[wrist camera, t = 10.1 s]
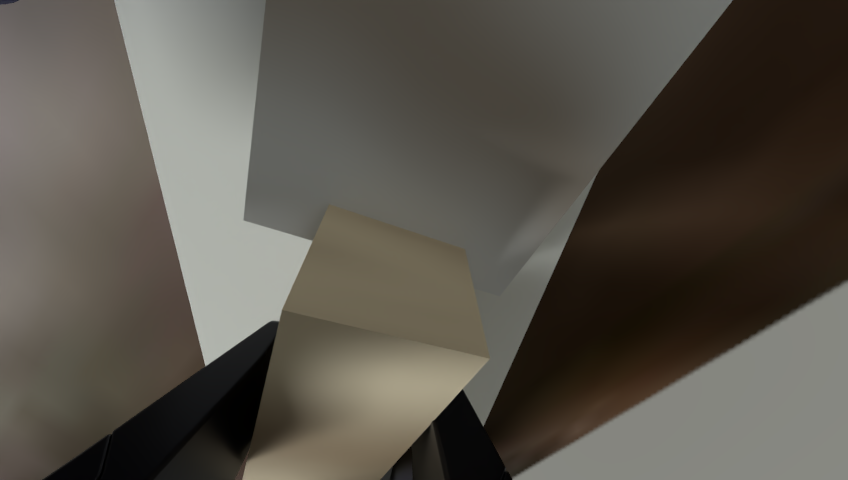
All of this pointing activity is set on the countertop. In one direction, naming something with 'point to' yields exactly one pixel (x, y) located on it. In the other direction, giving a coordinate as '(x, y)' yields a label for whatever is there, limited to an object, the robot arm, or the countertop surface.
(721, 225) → the countertop surface
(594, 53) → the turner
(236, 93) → the rest mat
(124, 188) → the countertop surface
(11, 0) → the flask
